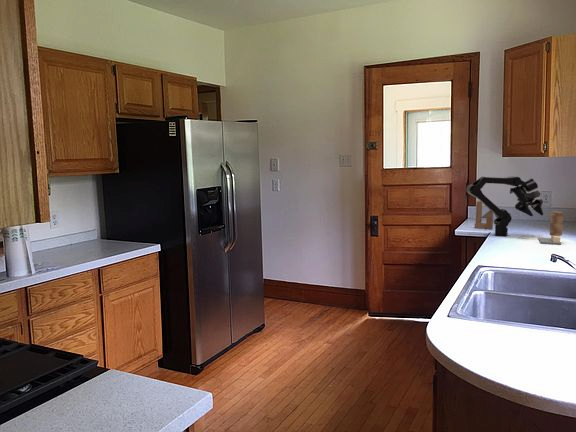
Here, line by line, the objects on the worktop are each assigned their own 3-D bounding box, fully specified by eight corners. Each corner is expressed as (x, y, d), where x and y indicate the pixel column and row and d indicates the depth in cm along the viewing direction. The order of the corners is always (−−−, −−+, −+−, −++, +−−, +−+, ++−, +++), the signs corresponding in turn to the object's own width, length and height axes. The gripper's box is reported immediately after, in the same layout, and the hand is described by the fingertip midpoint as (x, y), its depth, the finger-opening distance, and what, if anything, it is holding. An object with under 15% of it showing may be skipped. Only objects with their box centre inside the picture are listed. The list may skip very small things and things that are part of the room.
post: (549, 234, 279) (551, 211, 277) (554, 234, 281) (556, 211, 280) (557, 236, 275) (558, 212, 274) (561, 235, 277) (563, 212, 276)
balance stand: (540, 243, 274) (540, 236, 274) (538, 239, 289) (538, 232, 289) (561, 244, 271) (561, 237, 270) (557, 240, 285) (557, 233, 285)
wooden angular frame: (491, 229, 324) (492, 202, 322) (474, 228, 330) (475, 201, 328) (492, 229, 327) (494, 201, 325) (475, 227, 333) (476, 200, 331)
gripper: (520, 186, 287) (536, 207, 279) (541, 185, 296) (557, 205, 287) (508, 199, 295) (523, 219, 287) (528, 197, 304) (544, 217, 295)
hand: (537, 215), depth 289 cm, fingers open, 9 cm apart
